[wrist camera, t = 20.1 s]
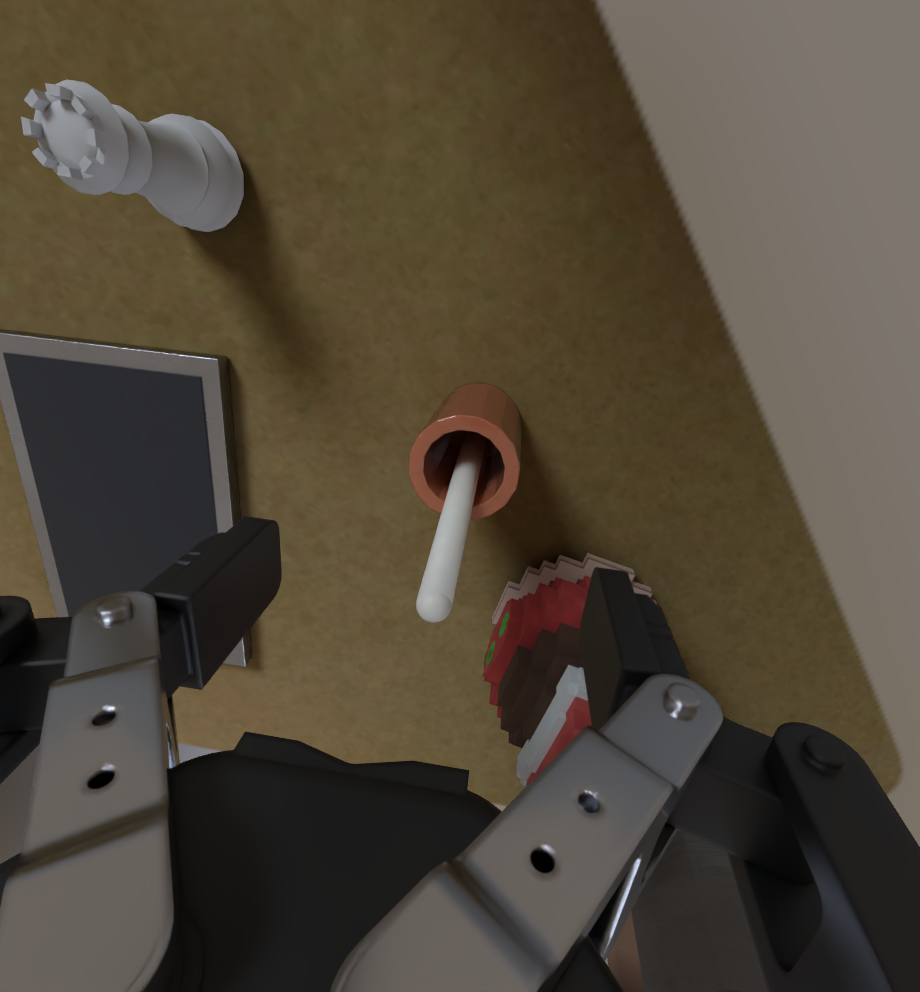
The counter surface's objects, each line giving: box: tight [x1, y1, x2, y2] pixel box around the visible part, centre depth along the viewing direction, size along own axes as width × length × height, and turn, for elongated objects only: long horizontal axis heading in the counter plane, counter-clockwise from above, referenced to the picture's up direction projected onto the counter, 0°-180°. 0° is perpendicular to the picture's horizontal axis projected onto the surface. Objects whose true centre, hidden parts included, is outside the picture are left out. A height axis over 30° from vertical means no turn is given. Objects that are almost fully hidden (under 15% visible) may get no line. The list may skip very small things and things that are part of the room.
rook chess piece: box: [21, 80, 244, 232], centre depth 20 cm, size 4×4×8 cm
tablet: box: [0, 329, 252, 667], centre depth 31 cm, size 20×13×1 cm, turn 174°
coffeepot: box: [631, 829, 768, 992], centre depth 25 cm, size 15×9×18 cm, turn 111°
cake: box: [483, 553, 657, 992], centre depth 22 cm, size 11×9×18 cm
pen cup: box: [409, 383, 521, 521], centre depth 23 cm, size 4×4×7 cm
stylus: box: [416, 431, 487, 622], centre depth 21 cm, size 1×1×13 cm
